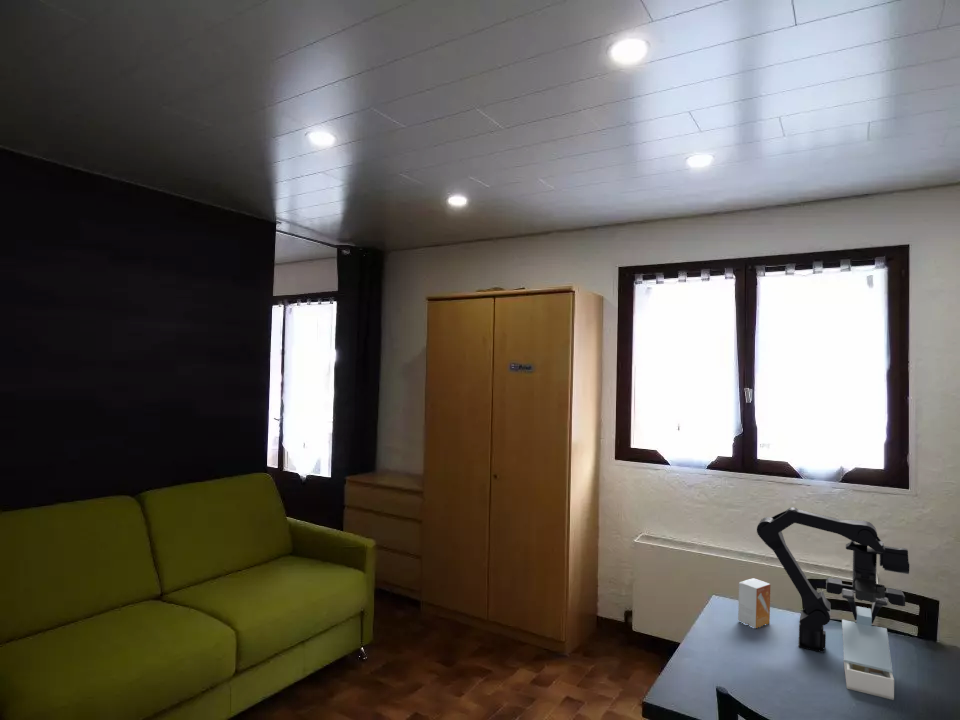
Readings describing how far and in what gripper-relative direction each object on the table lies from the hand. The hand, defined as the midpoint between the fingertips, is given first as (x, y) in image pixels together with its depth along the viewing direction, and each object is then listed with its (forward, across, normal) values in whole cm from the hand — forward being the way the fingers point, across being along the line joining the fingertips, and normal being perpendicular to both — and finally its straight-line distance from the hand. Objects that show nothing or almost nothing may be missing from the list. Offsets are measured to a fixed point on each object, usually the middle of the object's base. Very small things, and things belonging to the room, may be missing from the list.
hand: (863, 621), depth 168 cm
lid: (+3, 0, -8) cm, 8 cm away
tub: (+10, 0, -13) cm, 17 cm away
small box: (+11, -29, +8) cm, 32 cm away
